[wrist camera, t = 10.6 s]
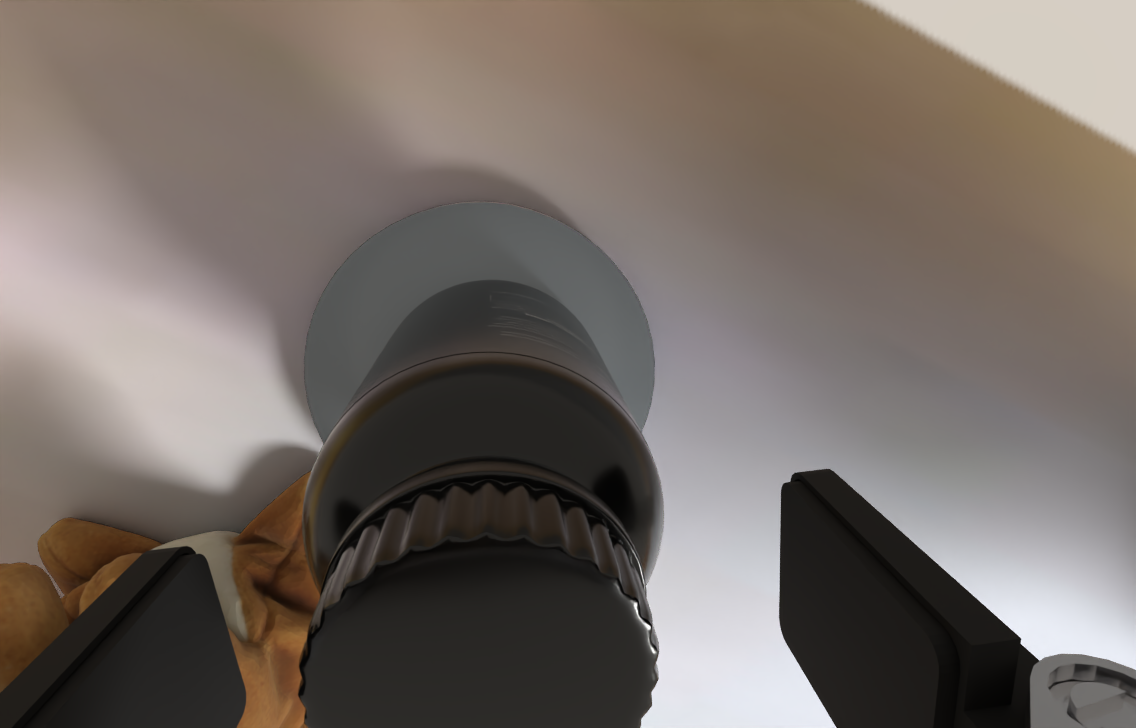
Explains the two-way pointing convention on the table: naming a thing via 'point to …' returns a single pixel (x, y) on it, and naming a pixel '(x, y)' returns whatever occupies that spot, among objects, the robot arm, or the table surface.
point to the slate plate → (458, 255)
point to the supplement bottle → (483, 529)
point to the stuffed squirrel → (242, 580)
